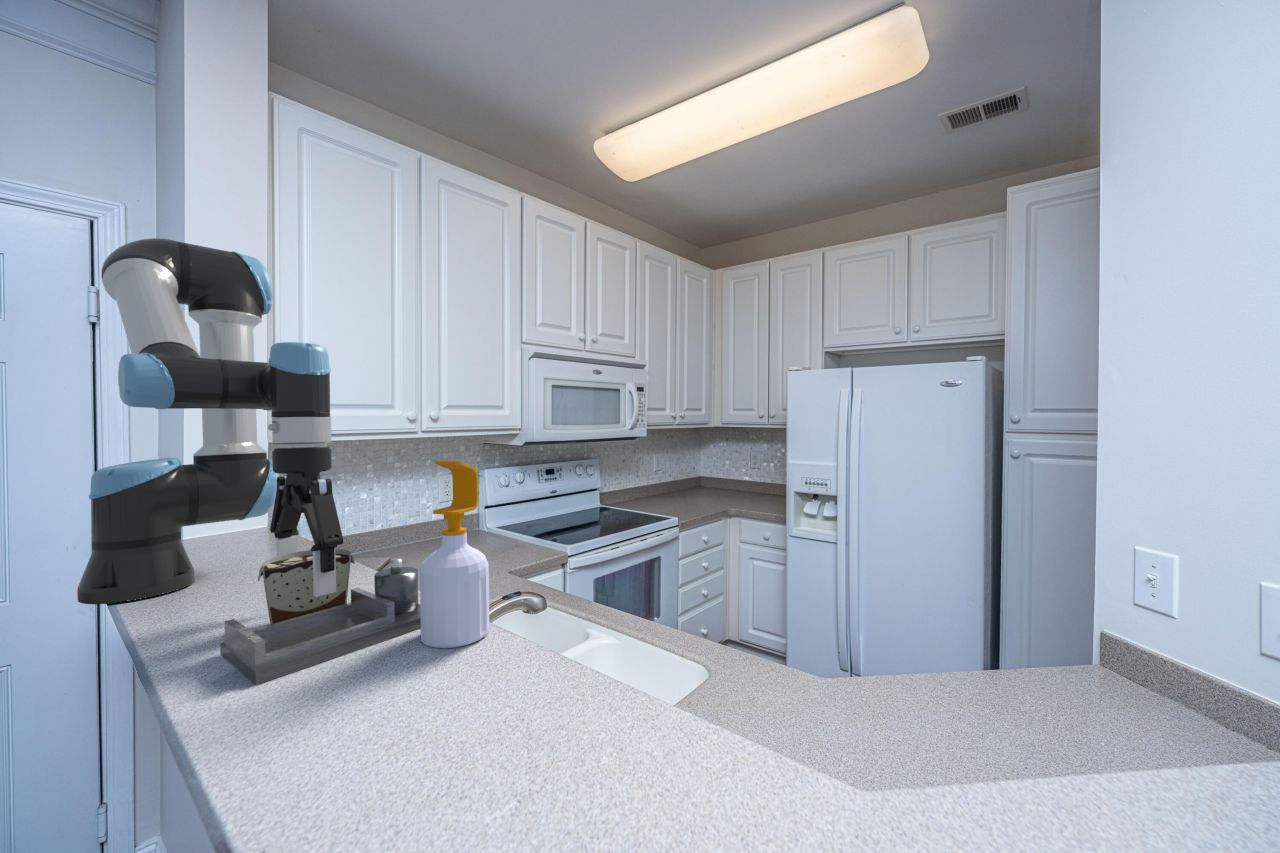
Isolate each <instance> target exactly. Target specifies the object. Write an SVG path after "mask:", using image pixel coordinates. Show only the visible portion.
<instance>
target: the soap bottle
mask: <svg viewBox="0 0 1280 853" xmlns="http://www.w3.org/2000/svg"><path fill="white" fill-rule="evenodd" d="M434 465H436V466H440V467H442V468H445V469H447V470H449V471H450V472H451V477H452V501H451V504H450V505H449V506H445V507H442V508H438V509H434V510H433V511H432V512H433V514H434V515H443V520H446V521H447V528H444V529H441V545H440V547H439V548H437V549H436V550H435V551H433V552H432V553H431V554H429V555H428V556H427V557H426V558H425V559H424V560H423V561H422V562H421V566H420V569H419V588H420V589H419V595H420V596H419V598H420V600H419V602H420V603H419V604H420V611H421V628H420V640H421V642H422V643H423V644H424V645H425V646H428V647H432V648H436V649H453V648H459V647H465V646H468V645H470V644H471V645H472V644H473V643H476V642H478V641H480V640H482V639H483V638H485V637H486V636H487V635H488V633H489V631H490V628H491V627H490V570H489V568H490V566H489V565H490V564H489V562H488V559H487V557H486V555H485V554H484V553H483V552H481V551H480V550H479V549H477V548H474V547H472V546H470V544H468V530H467V527H465V526H464V527H462V526H461V520H462V519H465V513H468V512H472V511H475V510H476V509H477V507H478V505H479V472H478V469H477V468H476V467H475V466H473V465H470V464H468V463H465V462H463V461H459V460H457V461H456V460H435V464H434Z"/></svg>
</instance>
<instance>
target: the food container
mask: <svg viewBox="0 0 1280 853" xmlns="http://www.w3.org/2000/svg"><path fill="white" fill-rule="evenodd" d="M335 556H336V592H333V593H329V594H325V595H321V596H317V597H315V596H314V588H313V552H311V549H308V550H300V551H299V550H298V552H293V553H289V554H284V555H280V556H277V555H276V556H274V557H271V558H268V559H266V560H264V561H263V562H262V565H261V567H260V569H259V571H258V577H257V581H258V582H260V580H261V578H263V584H264V585H263V586H264V591H265V598H266V605H267V612H268V618H269V619H268V620H269V625H270V624H274V623H278V622H281V621H285V620H289V619H292V618H296V617H300V616H303V615H307V614H311V613H314V612H318V611H322V610H325V609H329V608H332V607H336V606H340V605H343V604H347V603H348V594H349V593H348V592H349V581H350V571H351V564H353V565H354V564H356V561H355V557H354V554H352V550H350V549H345V548H335Z"/></svg>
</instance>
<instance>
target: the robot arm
mask: <svg viewBox="0 0 1280 853" xmlns="http://www.w3.org/2000/svg"><path fill="white" fill-rule="evenodd" d="M100 275H101V281H102V284H103V287H104V290H105V291H106V293H107V294H108V295H109V297H110V298H111V299H113V301H116V304H117V309H118V311H119V314H120V317H121V322H122V325H123V328H124V331H125V335H126V339H127V342H128V345H129V346H128V347H129V348H130V352H131V353H127V354H126V353H125V354H124V355H122V356H121V357H120V360H119V363H118V372H117V373H118V374H117V375H118V376H117V377H118V378H117V380H118V381H117V382H118V390H119V397H120V400H121V401H122V402H123V404H124V405H126V406H128V407H132V408H147V409H148V408H150V409H156V410H167V409H170V410H171V409H174V410H176V409H177V410H178V409H183V410H185V409H188V410H189V409H201V423H202V446H201V447H200V448H199V449H198V450H197V451H195V453H193V457H192V458H193V463H191V464H182V460H181V461H180V458H178V457H166V458H158V459H157V458H155V459H147V460H145V459H144V460H139V461H134V462H126V463H120V464H114V465H110V466H106V467H103V468H100V469H97V470H96V471H95V472H94V473H93V474H92V475H91V478H90V491H89V492H90V493H89V495H88V499H89V500H90V508H91V509H90V522H91V523H90V524H91V526H90V527H91V528H90V529H91V530H90V533H91V538H90V539H91V554H90V557H89V559H88V562H87V564H86V566H85V569H84V571H83V573H82V576H81V578H80V581H79V583H78V586H77V590H76V592H77V602H78V603H81V604H83V605H84V604H85V605H107V604H108V605H109V604H117V603H116V602H120V603H122V602H121V601H127V600H134V601H136V600H135V599H140V598H145V597H150V598H152V597H151V596H155V597H157V596H156V595H159V594H162V593H167V592H170V591H174V590H177V589H180V590H182V589H181V588H183V589H185V588H187V587H189V586H191V585H193V584H194V583H195V581H194V580H196V579H195V568H194V565H193V564H192V562H191V560H190V557H189V555H188V553H187V551H186V549H185V547H184V545H183V542H182V541H183V540H182V528H183V527H190V526H196V525H197V526H198V525H205V524H214V523H221V522H229V521H236V520H237V521H245V520H246V519H250V518H257V517H262V516H265V515H266V514H267V513H269V512H270V511H271V510H272V508H273V510H272V514H271V515H272V516H271V522H270V528H269V531H270V533H271V534H273V535H274V537H275V539H276V541H275V542H276V557H277V556H280V555H284V554H289V553H293V552H299V546H298V545H299V543H298V542H299V541H298V540H299V538H298V537H299V535H300V531H299V529H298V525H299V523H300V519H301V516H302V514H303V515H304V517H305V520H306V523H307V526H308V528H309V532H310V534H311V537H312V541H313V544H312V546H311V548H310V550H311V552H313V588H314V596H315V597H317V596H321V595H325V594H329V593H333V592H336V556H335V549H336V548H337V547H338V546H339V545H343V544H344V536H343V533H342V529H341V524H340V521H339V516H338V512H337V507H336V504H335V499H334V493H333V483H332V479H331V478H322V479H321V473H322V472H327V471H330V470H331V469H332V448H331V447H330V446H328V444H330V443H331V442H332V417H331V394H330V393H331V385H330V384H331V382H330V381H331V380H330V379H331V377H330V373H331V370H332V369H331V366H330V359H329V352H328V349H326V347H324V346H322V345H320V344H316V343H310V342H309V343H308V342H296V341H289V342H287V341H284V342H282V341H281V342H276V343H273V344H272V345H271V347H270V349H269V350H270V351H269V359H268V362H263V361H262V362H261V361H255V343H254V342H255V341H254V340H255V339H254V329H255V328H256V326H258V325H259V324H260V323H262V321H263V316H265V315H268V314H269V313H270V312H271V310H272V307H273V301H272V300H273V299H274V298H273V297H274V296H273V287H272V280H271V277H270V273H269V272H268V270H267V268H266V266H265V264H264V263H263V262H262V261H261V260H259V259H258V258H256V257H254V256H250V255H246V254H242V253H240V252H237V251H229V250H224V249H223V250H222V249H217V248H213V247H208V246H203V245H198V244H194V243H193V244H192V243H187V242H182V241H178V240H173V239H169V238H158V237H155V238H154V237H153V238H144V239H139V240H135V241H131V242H129V243H126V244H123V245H121V246H120V247H118V248H116V249H115V250H114V251H112V252H111V253H110V254H109V255H108V256H107V257H106V259H104V261H103V264H102V267H101V274H100ZM180 305H186V306H187V308H188V316H189V317H190V319H192V320H193V321H195V322H196V323H197V325H198V328H199V329H198V330H199V332H198V333H199V351H198V348H197V345H196V343H195V340H194V338H193V335H192V333H191V331H190V328H189V326H188V323H187V321H186V319H185V316H184V313H183V311H182V309H181V307H180ZM122 402H121V403H122ZM257 410H263V411H271V414H270V415H271V423H270V424H268V425H267V429H268V430H269V431H271V435H272V436H271V437H272V438H271V442H272V444H274V445H276V446H277V448H274V449H273V450H272V452H271V456H272V459H271V458H267V457H268V454H267V450H266V449H265V448H263V447H262V446H260V444H259V442H258V428H257V427H258V424H257V423H258V422H257ZM281 474H282V475H283V474H285V475H286V476H285V475H283V476H280V475H281ZM193 582H194V583H193ZM192 583H193V584H192ZM190 584H191V585H190ZM188 585H189V586H188ZM186 586H187V587H186ZM184 587H185V588H184ZM177 591H178V590H177ZM174 592H175V591H174ZM167 594H168V593H167ZM159 596H160V595H159ZM145 599H146V598H145ZM140 600H141V599H140Z"/></svg>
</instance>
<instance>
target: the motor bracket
mask: <svg viewBox="0 0 1280 853" xmlns="http://www.w3.org/2000/svg"><path fill="white" fill-rule="evenodd" d="M389 560H390V568H386V569H382V570H379V571H378V572H375V574H374V579H373V580H374V593H372V592H370V591H368V590H364V589H363V588H359V587H355V588H351V589H350V602H347V604H343V605H340V606H336V607H332V608H329V609H325V610H322V611H318V612H314V613H311V614H307V615H303V616H300V617H296V618H292V619H289V620H285V621H281V622H278V623H274V624H270V623H269V624H267V625H263V626H260V627H256V628H253V629H249V628H248V627H247V626H245V625H244V624H242V623H241V622H239V621H237V620H236V619H234V618H233V619H229V620H225V621H224V642H221V643H219V650H220V651H219V652H220V653H219V654H220V656H221V657H222V658H223V659H224V660H226V661H227V662H228V663H230V664H231V665H232V666H233V667H234V668H235V669H236V670H237V671H239V672H240V673H241V674H242V675H243V676H244V677H246V678H247V679H248V680H249V681H250V682H252V683H253V684H254V685H255V686H258V685H261V684H263V683H266V682H269V681H273V680H274V679H277V678H278V679H279V678H281V677H283V676H286V675H289V674H291V673H294V672H297V671H300V670H305V669H306V668H310V667H312V666H316V665H318V664H322V663H325V661H329V660H333V659H335V658H338V657H341V656H344V655H346V654H350V653H352V652H355V651H359V650H361V649H365V648H367V647H369V646H373V645H376V644H379V643H381V642H384V641H386V640H391V639H393V638H396V637H399V636H401V635H404V634H407V633H411V632H413V631H417V630H419V629H421V611H420V603H419V570H418V568H417V567H414V566H413V567H412V566H403V558H401V557H394V558H391V559H389Z"/></svg>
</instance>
